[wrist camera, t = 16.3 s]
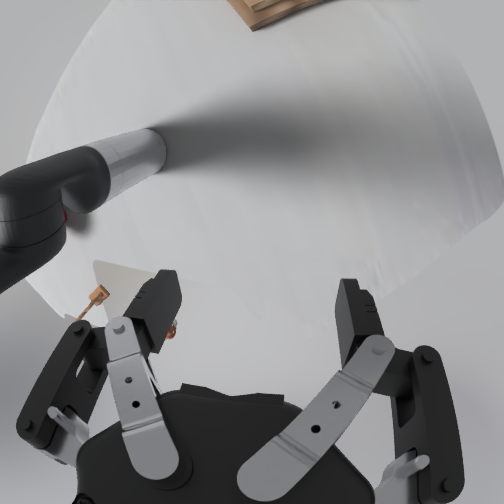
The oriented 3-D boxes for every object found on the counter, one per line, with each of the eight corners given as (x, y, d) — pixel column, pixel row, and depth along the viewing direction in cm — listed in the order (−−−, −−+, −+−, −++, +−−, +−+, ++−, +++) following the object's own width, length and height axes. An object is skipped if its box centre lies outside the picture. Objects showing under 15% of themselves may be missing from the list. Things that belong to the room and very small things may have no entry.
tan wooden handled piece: (100, 284, 66) (77, 311, 56) (110, 294, 68) (87, 322, 57) (89, 295, 70) (67, 321, 60) (98, 304, 71) (77, 331, 61)
